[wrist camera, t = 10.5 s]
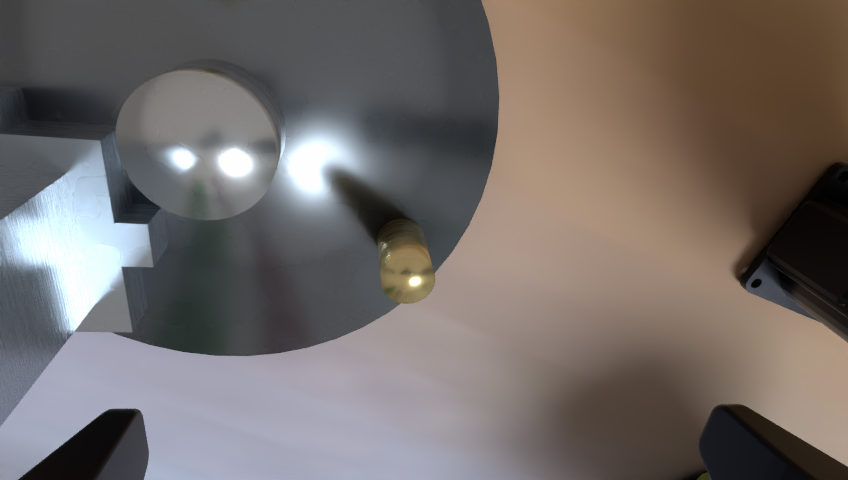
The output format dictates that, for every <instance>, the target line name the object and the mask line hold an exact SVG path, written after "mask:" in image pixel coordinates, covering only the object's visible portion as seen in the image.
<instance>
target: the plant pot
mask: <svg viewBox="0 0 848 480" xmlns="http://www.w3.org/2000/svg"><path fill="white" fill-rule="evenodd" d="M696 480H711V478H710V476H709V474H708V473H704V474H702V475H701V476H700V477H699V478H698V479H696Z"/></svg>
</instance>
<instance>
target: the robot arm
mask: <svg viewBox="0 0 848 480" xmlns="http://www.w3.org/2000/svg"><path fill="white" fill-rule="evenodd" d="M841 173H842V174H841ZM840 174H841V175H840ZM839 175H840V176H839ZM754 280H755V281H754ZM752 281H754V282H752ZM740 284H741V286H742V287H743V288H744V289H746V290H747V291H748V292H750V293H752V294H755V295H757V296H759V297H762V298H764V299H766V300H769V301H771V302H774V303H776V304H778V305H781V306H783V307H785V308H788V309H790V310H793V311H795V312H797V313H800V314H802V315H804V316H807V317H809V318H812V319H814V320H816V321H819V322H821V323H822V324H824V325H825V326H826V327H828V328H829V329H830V330H832V331H833V332H834V333H836V334H837V335H838V336H840V337H841V338H842V339H844V340H845V341H846V342H848V164H846V163H842V162H839V163H835V164H834V165H832V166H831V167H830V168H829V169H828V170H827V171H826V172H825V173H824V175H823V176H822V177H821V178H820V180H819V181H818V182H817V183H816V185H815V186H814V187H813V188H812V190H811V191H810V192H809V193H808V195H807V196H806V197H805V198H804V200H803V201H802V202H801V203H800V205H799V206H798V207H797V208H796V210H795V211H794V212H793V213H792V215H791V216H790V217H789V218H788V220H787V221H786V222H785V223H784V225H783V226H782V227H781V228H780V230H779V231H778V232H777V233H776V234H775V236H774V237H773V238H772V239H771V241H770V242H769V243H768V244H767V246H766V247H765V248H764V249H763V251H762V252H761V253H760V254H759V256H758V257H757V258H756V259H755V261H754V262H753V263H752V264H751V266H750V267H749V268H748V269H747V271H746V272H745V273H744V274H743V276H742V277H741V279H740ZM699 451H700V455H701V457H702V460H703V462H704V464H705V467H706V469H707V471H708V474H709V476H710V478H711V480H848V467H847V466H845V465H844V464H842V463H840V462H839V461H837V460H835V459H834V458H832V457H830V456H829V455H827V454H825V453H824V452H822V451H820V450H818V449H817V448H815V447H813V446H812V445H810V444H808V443H807V442H805V441H803V440H802V439H800V438H798V437H797V436H795V435H793V434H791V433H790V432H788V431H786V430H785V429H783V428H781V427H780V426H778V425H776V424H775V423H773V422H771V421H770V420H768V419H766V418H764V417H763V416H761V415H759V414H758V413H756V412H754V411H753V410H751V409H749V408H748V407H746V406H743V405H739V404H721V405H717V406H716V407H715V408H714V409H713V410H712V412H711V414H710V417H709V419H708V421H707V423H706V425H705V427H704V429H703V432H702V434H701V436H700V439H699ZM148 458H149V449H148V443H147V437H146V432H145V426H144V420H143V415H142V413H141V412H140V410H138V409H110V410H107V411H105V412H104V413H102V414H101V415H100V416H98V417H97V418H96V419H95V420H93V421H92V422H91V423H89V424H88V425H87V426H86V427H84V428H83V429H82V430H81V431H79V432H78V433H77V434H75V435H74V436H73V437H72V438H70V439H69V440H68V441H67V442H65V443H64V444H63V445H61V446H60V447H59V448H58V449H56V450H55V451H54V452H53V453H51V454H50V455H49V456H48V457H46V458H45V459H44V460H42V461H41V462H40V463H39V464H37V465H36V466H35V467H34V468H32V469H31V470H30V471H28V472H27V473H26V474H25V475H23V476H22V477H21V478H20V479H18V480H144V476H145V473H146V469H147V465H148Z"/></svg>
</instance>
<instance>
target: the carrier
mask: <svg viewBox="0 0 848 480" xmlns="http://www.w3.org/2000/svg"><path fill="white" fill-rule="evenodd" d="M0 86H6V87H19V88H22V91H23V95H24V100H25V104H26V109H27V113H28V117H29V120H36V121H51V122H65V123H79V124H94V125H108V126H116V147H117V152H118V155H119V159H120V161H121V164H122V166H123V168H124V170H125V172H126V174H127V175H128V177H129V183H130V189H131V196H132V203H137V204H156V205H158V206H159V207H161V208H163V209H164V214H165V223H166V231H167V239H168V247H167V248H166V250H165V251H164V252H163V254H162V255H161V257H160V258H159V260H158V261H157V263H156V264H155V266H154V267H142V269H143V276H144V283H145V289H146V296H147V303H148V308H147V310H146V311H145V313H144V315H143V316H142V318H141V319H140V321H139V323H138V324H137V326H136V328H135V329H134V331H133V332H113V333H115V334H117V335H120V336H124V337H127V338H130V339H133V340H136V341H140V342H143V343H146V344H149V345H153V346H158V347H163V348H167V349H172V350H177V351H182V352H189V353H198V354H207V355H219V356H251V355H263V354H274V353H281V352H287V351H292V350H297V349H302V348H307V347H311V346H314V345H317V344H320V343H324V342H327V341H330V340H333V339H337V338H339V337H341V336H343V335H346V334H348V333H350V332H353V331H355V330H357V329H360V328H362V327H364V326H366V325H367V324H369V323H371V322H373V321H374V320H376V319H378V318H380V317H381V316H383V315H385V314H387V313H388V312H390V311H391V310H392V309H394V308H395V307H396V306H398V305H399V304H400V303H404V304H408V303H415V302H418V301H420V300H422V299H424V298H425V297H426V296H427V295H428V294H429V293H430V292H431V291H432V289H433V287H434V284H435V274H434V273H435V272H436V271H437V270H438V268H439V267H440V266H441V265H442V263H443V262H444V261H445V260H446V259H447V257H448V256H449V255H450V254H451V252H452V251H453V250H454V248H455V246H456V245H457V243H458V242H459V240H460V238H461V237H462V235H463V234H464V232H465V230H466V229H467V227H468V226H469V223H470V221H471V219H472V217H473V215H474V213H475V211H476V208H477V206H478V204H479V202H480V200H481V198H482V195H483V191H484V188H485V185H486V182H487V179H488V175H489V172H490V169H491V166H492V160H493V155H494V149H495V143H496V138H497V131H498V110H499V90H498V77H497V65H496V57H495V52H494V47H493V42H492V38H491V33H490V28H489V23H488V19H487V17H486V14H485V11H484V8H483V5H482V2H481V0H0Z"/></svg>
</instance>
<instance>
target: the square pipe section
mask: <svg viewBox="0 0 848 480" xmlns="http://www.w3.org/2000/svg"><path fill="white" fill-rule="evenodd" d="M167 247H168V239H167V231H166V223H165V214H164V209H163V208H161V207H159V206H158V205H156V204H137V203H132V196H131V189H130V183H129V177H128V175H127V174H126V172H125V170H124V168H123V166H122V164H121V161H120V159H119V155H118V152H117V147H116V126H108V125H94V124H79V123H65V122H51V121H36V120H29V117H28V113H27V109H26V104H25V100H24V95H23V91H22V88H19V87H6V86H0V426H1V425H2V424H3V423H4V421H5V420H6V419H7V417H8V416H9V415H10V414H11V412H12V411H13V410H14V408H15V407H16V406H17V404H18V403H19V402H20V401H21V399H22V398H23V397H24V395H25V394H26V393H27V392H28V390H29V389H30V388H31V386H32V385H33V384H34V383H35V381H36V380H37V379H38V377H39V376H40V375H41V373H42V372H43V371H44V370H45V368H46V367H47V366H48V364H49V363H50V362H51V361H52V359H53V358H54V357H55V355H56V354H57V353H58V351H59V350H60V349H61V348H62V346H63V345H64V344H65V342H66V341H67V340H68V339H69V337H70V336H71V335H72V333H73V332H133V331H134V329H135V328H136V326H137V324H138V323H139V321H140V319H141V318H142V316H143V315H144V313H145V311H146V310H147V308H148V303H147V296H146V289H145V283H144V276H143V269H142V267H154V266H155V264H156V263H157V261H158V260H159V258H160V257H161V255H162V254H163V252H164V251H165V250H166V248H167Z"/></svg>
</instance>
